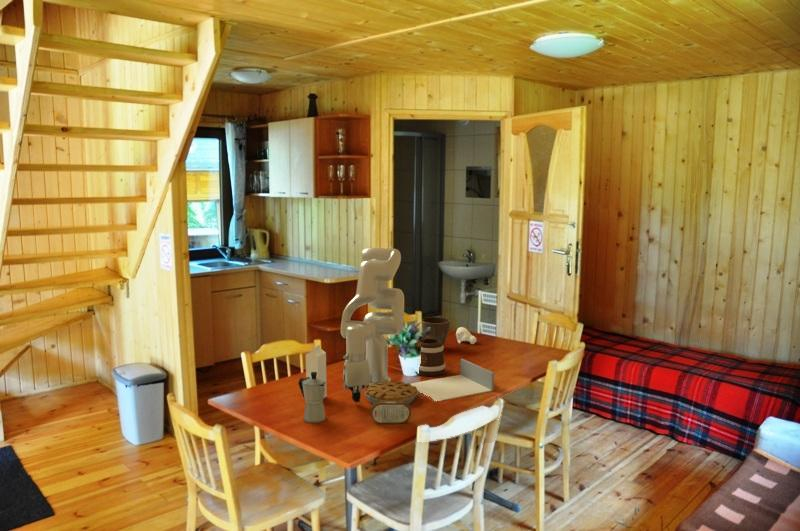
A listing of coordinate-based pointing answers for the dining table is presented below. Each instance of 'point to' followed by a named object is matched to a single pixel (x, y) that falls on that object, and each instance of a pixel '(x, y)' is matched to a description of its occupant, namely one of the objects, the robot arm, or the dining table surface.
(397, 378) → the dining table surface
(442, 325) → the plant pot
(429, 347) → the mug
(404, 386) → the pie
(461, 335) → the cream rounded lump
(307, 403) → the coffee maker
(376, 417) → the tin
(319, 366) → the milk
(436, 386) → the grey l-shaped tray
